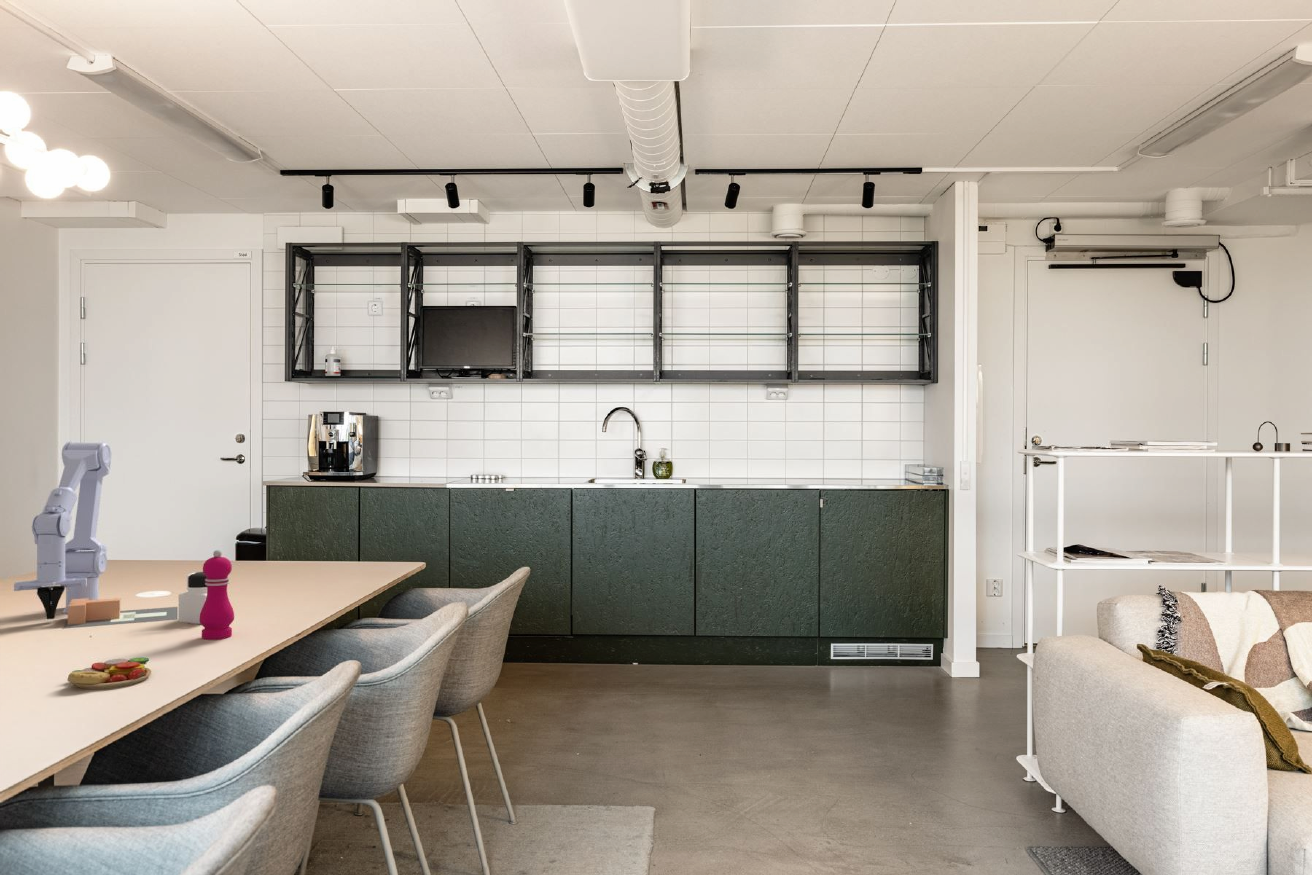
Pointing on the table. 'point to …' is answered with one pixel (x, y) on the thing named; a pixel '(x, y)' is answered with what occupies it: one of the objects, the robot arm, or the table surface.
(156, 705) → the table surface
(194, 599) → the medicine bottle
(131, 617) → the mat
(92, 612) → the t block
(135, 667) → the toy food set
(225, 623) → the pepper mill
